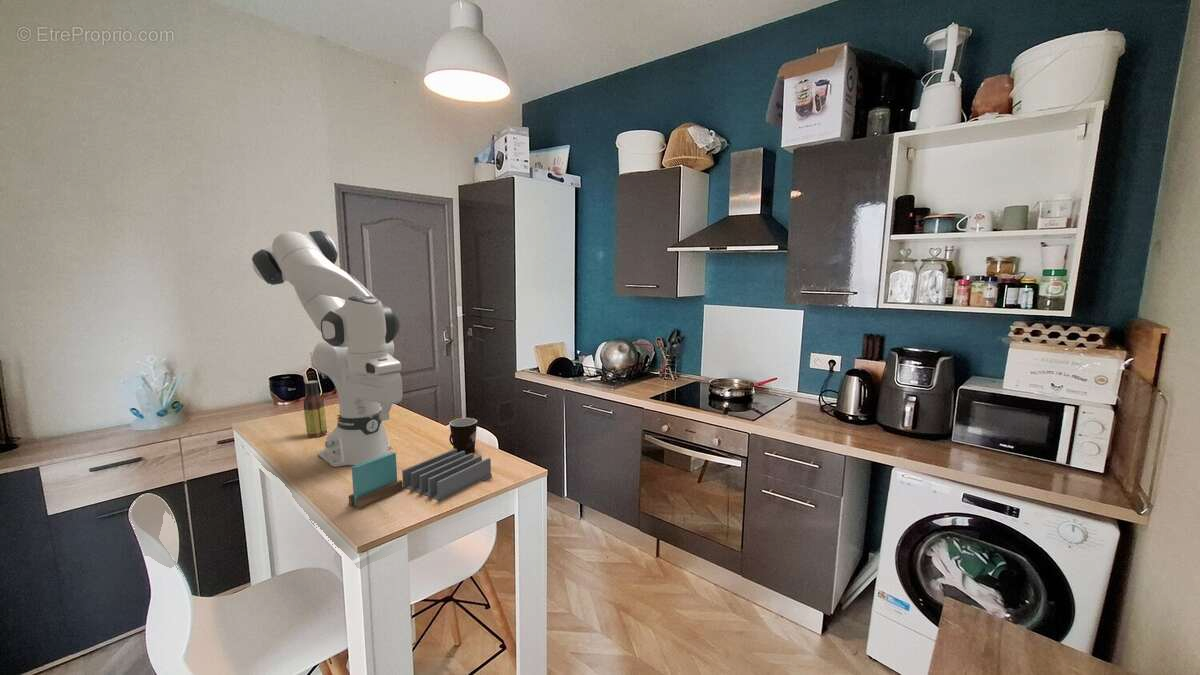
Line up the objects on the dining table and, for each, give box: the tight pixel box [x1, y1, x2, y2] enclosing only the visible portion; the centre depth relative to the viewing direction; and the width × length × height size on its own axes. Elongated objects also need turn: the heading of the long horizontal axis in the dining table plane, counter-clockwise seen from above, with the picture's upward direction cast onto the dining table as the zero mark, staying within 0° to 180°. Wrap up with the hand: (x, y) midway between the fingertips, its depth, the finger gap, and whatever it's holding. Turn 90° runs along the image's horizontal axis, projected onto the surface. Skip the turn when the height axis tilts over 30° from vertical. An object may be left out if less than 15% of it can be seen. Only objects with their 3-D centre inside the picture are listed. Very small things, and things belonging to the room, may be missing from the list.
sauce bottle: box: [303, 380, 328, 438], centre depth 161 cm, size 7×6×20 cm
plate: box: [351, 451, 398, 506], centre depth 115 cm, size 1×11×10 cm, turn 149°
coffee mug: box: [449, 417, 478, 456], centre depth 146 cm, size 12×9×10 cm
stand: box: [347, 479, 406, 511], centre depth 115 cm, size 6×12×3 cm, turn 149°
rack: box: [401, 448, 493, 502], centre depth 125 cm, size 15×18×6 cm
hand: (372, 416), depth 113 cm, fingers open, 8 cm apart
